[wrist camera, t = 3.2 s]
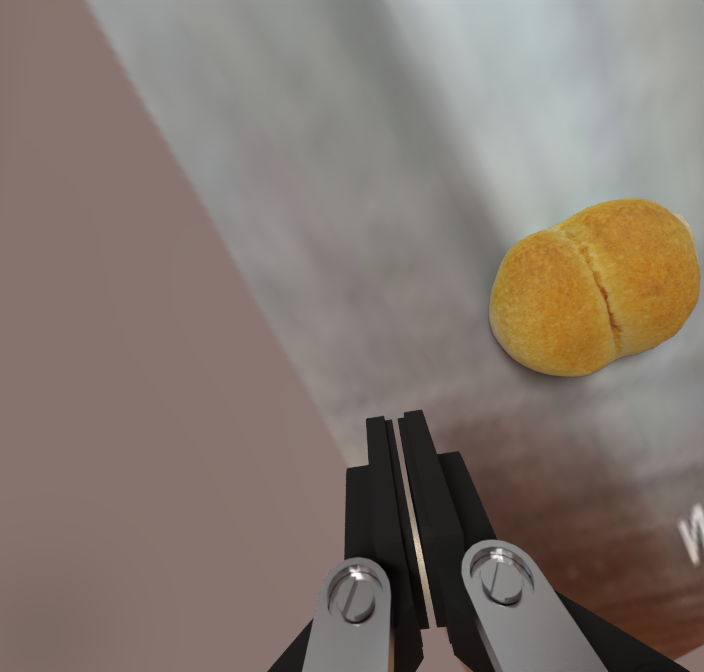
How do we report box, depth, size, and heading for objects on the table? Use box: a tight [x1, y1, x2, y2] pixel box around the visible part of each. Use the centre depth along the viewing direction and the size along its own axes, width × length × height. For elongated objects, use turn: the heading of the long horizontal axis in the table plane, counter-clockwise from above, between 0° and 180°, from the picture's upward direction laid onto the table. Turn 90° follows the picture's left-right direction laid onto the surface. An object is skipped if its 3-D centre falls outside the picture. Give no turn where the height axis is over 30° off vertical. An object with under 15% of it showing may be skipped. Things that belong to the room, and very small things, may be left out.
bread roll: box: [489, 198, 700, 377], centre depth 16 cm, size 8×9×4 cm
